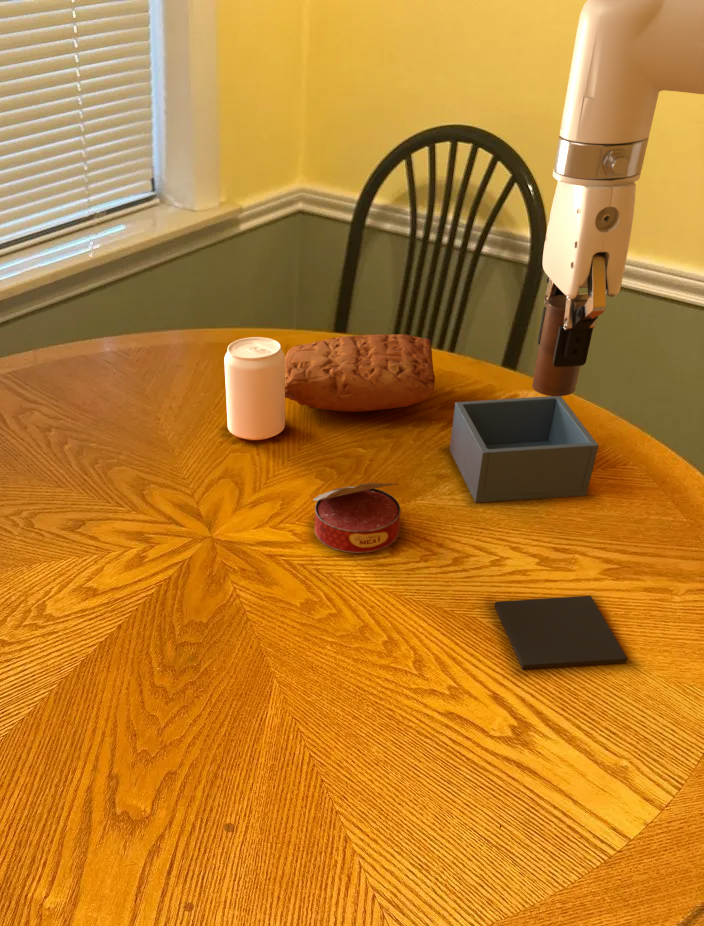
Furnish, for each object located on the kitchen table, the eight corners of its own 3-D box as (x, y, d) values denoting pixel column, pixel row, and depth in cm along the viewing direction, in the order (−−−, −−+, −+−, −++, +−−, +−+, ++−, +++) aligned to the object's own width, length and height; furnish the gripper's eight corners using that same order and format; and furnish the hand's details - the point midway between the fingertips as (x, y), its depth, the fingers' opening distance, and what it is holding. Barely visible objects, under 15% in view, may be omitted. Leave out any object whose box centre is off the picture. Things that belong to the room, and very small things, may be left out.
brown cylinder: (568, 377, 96) (585, 293, 90) (581, 395, 93) (600, 308, 87) (527, 379, 96) (541, 295, 90) (538, 397, 93) (554, 311, 87)
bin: (550, 443, 119) (560, 395, 114) (586, 495, 108) (598, 445, 104) (449, 449, 119) (455, 402, 114) (475, 502, 108) (482, 452, 104)
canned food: (320, 576, 106) (280, 510, 102) (349, 525, 112) (312, 460, 108) (404, 560, 99) (365, 488, 94) (429, 507, 105) (394, 436, 100)
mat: (589, 599, 93) (590, 595, 93) (626, 663, 85) (627, 658, 85) (493, 606, 93) (494, 601, 93) (522, 669, 85) (523, 665, 85)
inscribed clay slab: (432, 379, 136) (437, 327, 131) (430, 431, 123) (436, 376, 118) (288, 375, 140) (287, 324, 134) (272, 425, 127) (271, 371, 122)
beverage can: (257, 411, 130) (254, 330, 123) (297, 428, 126) (297, 345, 118) (216, 431, 126) (211, 348, 119) (255, 449, 122) (253, 364, 114)
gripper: (679, 179, 74) (626, 387, 86) (608, 136, 87) (571, 322, 98) (588, 184, 74) (548, 392, 86) (530, 141, 87) (503, 326, 99)
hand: (560, 353), depth 92 cm, fingers closed on brown cylinder, 4 cm apart
